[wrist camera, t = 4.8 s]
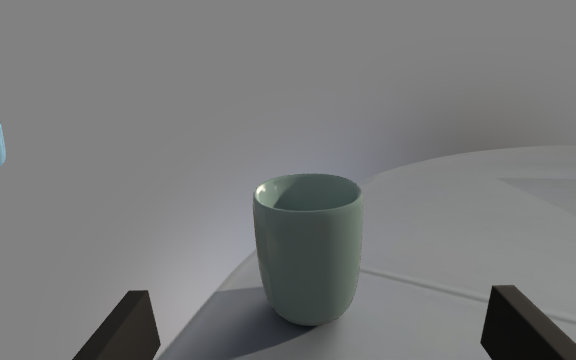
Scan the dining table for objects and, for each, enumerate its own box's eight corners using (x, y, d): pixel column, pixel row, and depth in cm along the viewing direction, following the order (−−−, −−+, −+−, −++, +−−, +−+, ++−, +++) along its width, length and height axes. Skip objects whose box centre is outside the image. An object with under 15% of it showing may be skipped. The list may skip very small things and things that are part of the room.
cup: (257, 346, 20) (244, 215, 17) (265, 275, 27) (257, 175, 24) (370, 342, 20) (378, 210, 17) (347, 272, 27) (350, 171, 24)
